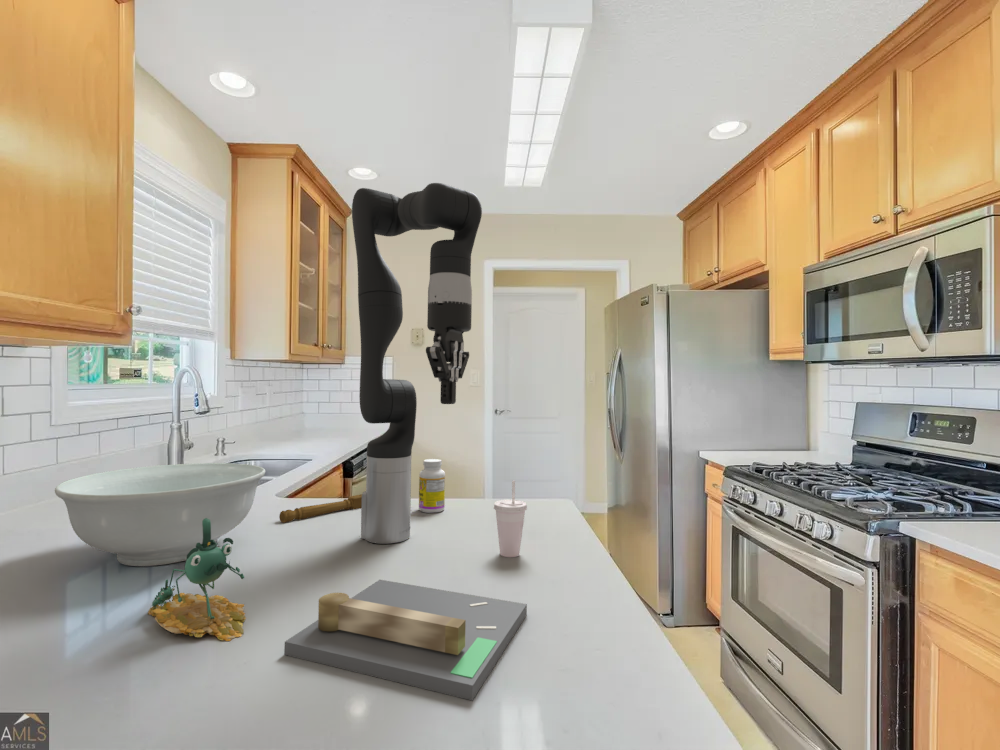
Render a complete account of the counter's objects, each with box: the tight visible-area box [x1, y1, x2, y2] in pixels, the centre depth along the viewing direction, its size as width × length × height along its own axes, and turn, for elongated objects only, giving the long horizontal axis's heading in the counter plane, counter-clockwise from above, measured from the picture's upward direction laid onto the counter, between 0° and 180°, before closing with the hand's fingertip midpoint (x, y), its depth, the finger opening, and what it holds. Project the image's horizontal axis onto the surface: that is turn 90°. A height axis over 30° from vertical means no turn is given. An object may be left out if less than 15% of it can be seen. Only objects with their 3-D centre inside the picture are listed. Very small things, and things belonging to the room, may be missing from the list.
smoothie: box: [493, 480, 528, 558], centre depth 94 cm, size 6×6×14 cm
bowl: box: [54, 462, 266, 567], centre depth 92 cm, size 32×32×15 cm
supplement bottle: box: [418, 458, 446, 514], centre depth 126 cm, size 7×7×13 cm
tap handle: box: [279, 493, 362, 524], centre depth 124 cm, size 3×3×30 cm
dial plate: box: [283, 579, 528, 701], centre depth 63 cm, size 24×20×2 cm
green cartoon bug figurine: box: [147, 518, 247, 642], centre depth 66 cm, size 10×18×15 cm, turn 58°
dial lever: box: [317, 592, 466, 655], centre depth 59 cm, size 19×4×3 cm, turn 71°
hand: (448, 403), depth 83 cm, fingers closed
